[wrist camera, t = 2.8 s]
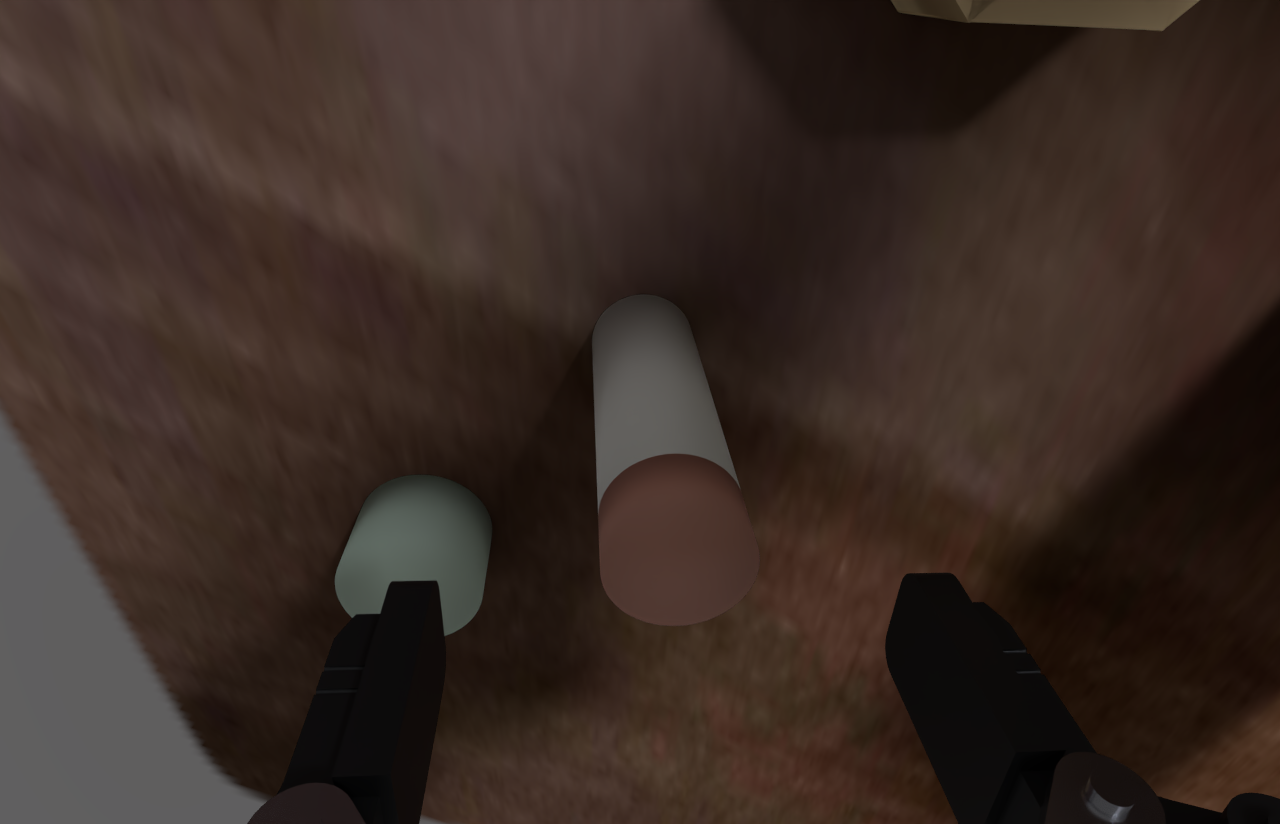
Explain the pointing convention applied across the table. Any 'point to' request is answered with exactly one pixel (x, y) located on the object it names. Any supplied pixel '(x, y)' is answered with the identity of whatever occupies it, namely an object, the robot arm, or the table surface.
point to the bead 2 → (1054, 12)
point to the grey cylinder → (664, 472)
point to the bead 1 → (418, 547)
